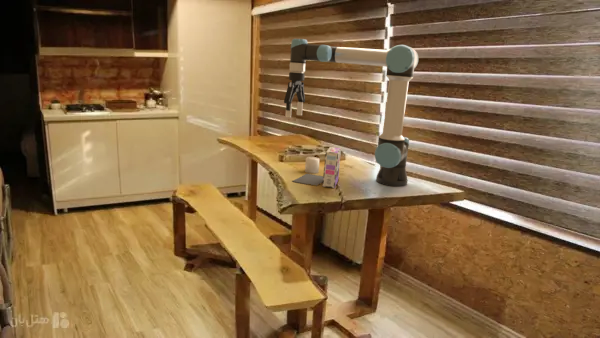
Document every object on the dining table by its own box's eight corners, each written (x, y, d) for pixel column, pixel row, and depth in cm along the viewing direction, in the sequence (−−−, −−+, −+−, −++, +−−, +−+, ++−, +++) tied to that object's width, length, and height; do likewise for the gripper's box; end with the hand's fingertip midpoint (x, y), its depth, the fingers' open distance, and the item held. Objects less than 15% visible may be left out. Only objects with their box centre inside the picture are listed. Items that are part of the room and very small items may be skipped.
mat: (329, 178, 227) (329, 177, 226) (316, 186, 210) (316, 185, 210) (306, 174, 231) (306, 173, 231) (292, 181, 215) (292, 181, 214)
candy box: (334, 188, 209) (338, 152, 205) (321, 186, 210) (325, 151, 206) (338, 181, 222) (341, 147, 218) (326, 179, 223) (329, 146, 219)
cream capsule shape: (320, 171, 239) (321, 158, 237) (315, 174, 233) (316, 160, 231) (307, 169, 242) (309, 156, 240) (302, 171, 235) (303, 158, 234)
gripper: (299, 71, 235) (296, 113, 240) (278, 71, 213) (275, 117, 217) (313, 72, 232) (310, 115, 237) (293, 72, 210) (290, 119, 215)
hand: (293, 116), depth 227 cm, fingers open, 13 cm apart
